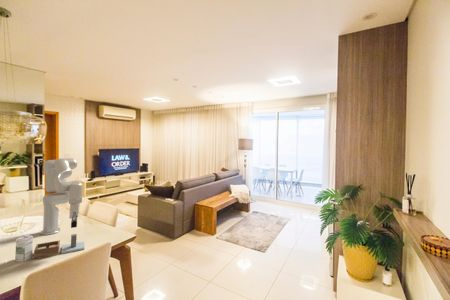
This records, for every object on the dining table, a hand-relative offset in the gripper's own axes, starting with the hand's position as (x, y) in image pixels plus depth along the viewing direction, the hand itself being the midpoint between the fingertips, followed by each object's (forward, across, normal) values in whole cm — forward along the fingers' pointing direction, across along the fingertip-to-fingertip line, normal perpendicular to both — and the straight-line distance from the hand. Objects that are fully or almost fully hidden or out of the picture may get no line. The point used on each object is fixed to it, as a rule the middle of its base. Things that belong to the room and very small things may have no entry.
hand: (74, 224), depth 147 cm
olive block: (+17, +1, -16) cm, 23 cm away
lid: (+17, +1, 0) cm, 17 cm away
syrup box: (+18, +3, -25) cm, 30 cm away
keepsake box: (+17, +1, -14) cm, 22 cm away
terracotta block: (+17, +1, -11) cm, 20 cm away
